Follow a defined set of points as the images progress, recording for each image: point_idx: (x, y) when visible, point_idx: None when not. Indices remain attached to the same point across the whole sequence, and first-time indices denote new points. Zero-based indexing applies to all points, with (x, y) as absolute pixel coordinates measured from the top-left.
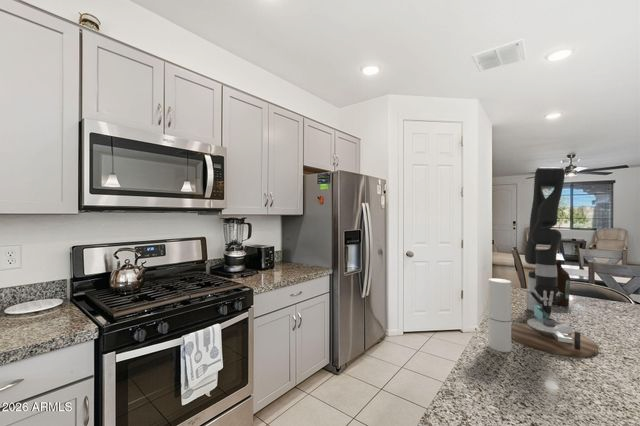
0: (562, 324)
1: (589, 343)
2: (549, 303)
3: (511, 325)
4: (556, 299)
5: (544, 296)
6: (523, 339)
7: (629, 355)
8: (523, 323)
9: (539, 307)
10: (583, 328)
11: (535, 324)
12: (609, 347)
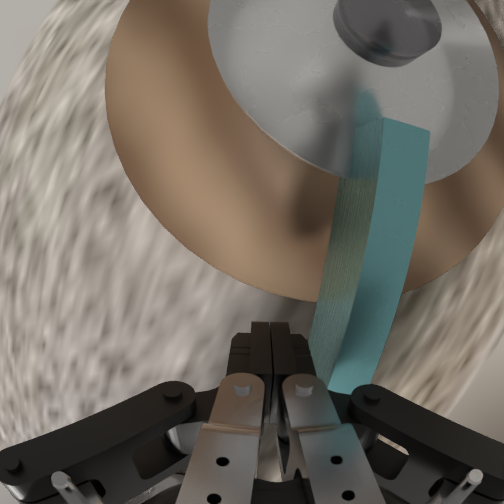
0: (249, 55)
1: (149, 17)
2: (248, 400)
3: (490, 215)
4: (129, 446)
5: (356, 480)
6: (480, 18)
7: (48, 27)
8: (413, 280)
9: (345, 374)
10: (67, 336)
11: (467, 32)
12: (61, 80)
